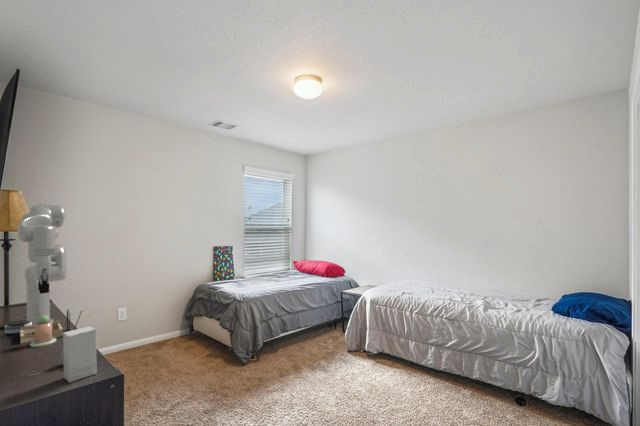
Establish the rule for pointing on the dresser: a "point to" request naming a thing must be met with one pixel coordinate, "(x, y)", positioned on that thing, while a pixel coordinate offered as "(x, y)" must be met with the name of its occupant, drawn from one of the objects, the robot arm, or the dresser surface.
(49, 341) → the pale mint disc
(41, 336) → the terracotta pot
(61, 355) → the reed diffuser
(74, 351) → the skincare box
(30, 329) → the wooden frame
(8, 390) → the dresser surface
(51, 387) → the dresser surface
